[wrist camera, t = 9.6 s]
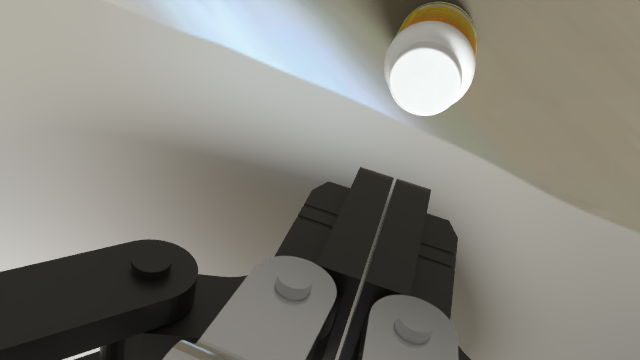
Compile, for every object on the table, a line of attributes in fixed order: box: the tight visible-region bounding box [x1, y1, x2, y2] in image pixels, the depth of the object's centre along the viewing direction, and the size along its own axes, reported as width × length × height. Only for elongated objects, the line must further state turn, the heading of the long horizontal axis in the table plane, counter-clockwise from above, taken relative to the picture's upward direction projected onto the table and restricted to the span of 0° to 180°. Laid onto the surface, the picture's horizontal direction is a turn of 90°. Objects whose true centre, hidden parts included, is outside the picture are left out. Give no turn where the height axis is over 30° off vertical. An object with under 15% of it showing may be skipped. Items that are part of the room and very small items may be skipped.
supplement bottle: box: [384, 2, 477, 116], centre depth 37 cm, size 5×5×10 cm
